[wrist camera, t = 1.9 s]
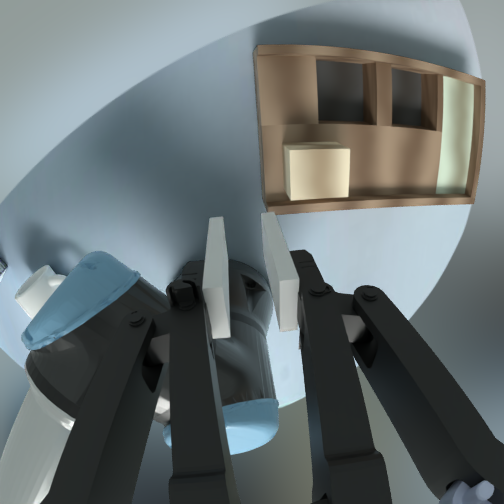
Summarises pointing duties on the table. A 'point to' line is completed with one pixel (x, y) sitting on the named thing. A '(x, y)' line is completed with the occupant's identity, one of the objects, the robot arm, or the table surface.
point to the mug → (38, 290)
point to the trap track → (370, 125)
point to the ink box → (2, 269)
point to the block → (315, 170)
